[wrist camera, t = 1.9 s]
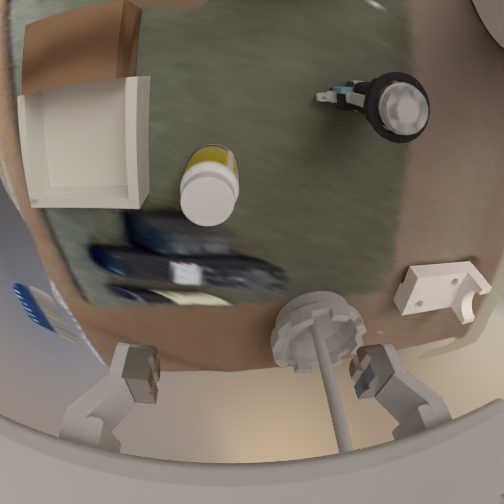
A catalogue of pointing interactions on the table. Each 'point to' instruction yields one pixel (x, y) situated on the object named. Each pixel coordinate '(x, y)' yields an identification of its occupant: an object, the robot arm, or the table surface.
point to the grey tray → (87, 144)
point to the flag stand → (319, 344)
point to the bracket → (441, 289)
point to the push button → (386, 104)
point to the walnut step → (81, 46)
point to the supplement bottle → (210, 185)
